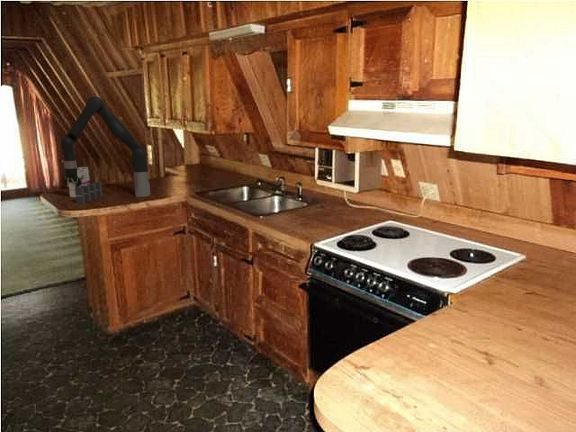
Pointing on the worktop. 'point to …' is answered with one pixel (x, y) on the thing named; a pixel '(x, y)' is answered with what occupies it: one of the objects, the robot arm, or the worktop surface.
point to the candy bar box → (83, 175)
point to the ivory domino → (72, 189)
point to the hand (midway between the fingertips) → (73, 191)
